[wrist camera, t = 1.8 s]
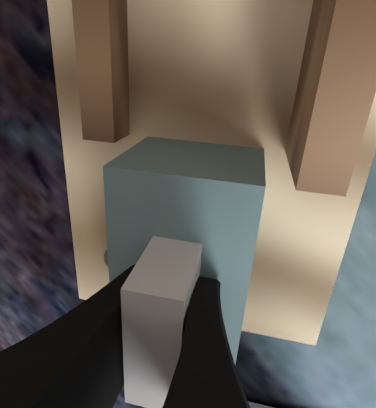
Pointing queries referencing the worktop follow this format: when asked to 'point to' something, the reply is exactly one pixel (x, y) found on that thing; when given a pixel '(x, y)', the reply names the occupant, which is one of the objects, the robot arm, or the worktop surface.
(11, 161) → the worktop surface
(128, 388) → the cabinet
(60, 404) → the robot arm
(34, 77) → the worktop surface
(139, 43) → the cleat board
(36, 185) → the worktop surface
